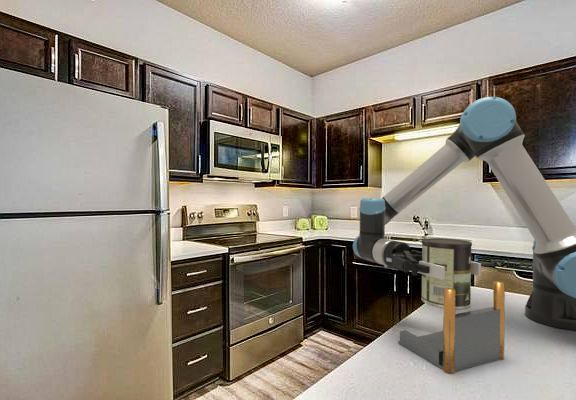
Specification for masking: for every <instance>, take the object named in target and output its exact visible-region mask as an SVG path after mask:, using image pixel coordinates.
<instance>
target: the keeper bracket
mask: <svg viewBox="0 0 576 400" xmlns="http://www.w3.org/2000/svg"><path fill="white" fill-rule="evenodd" d="M492 284H493V285H492V286H493V289H492V290H493V291H492V292H493V295H492V297H493V300H492V304H493V305H492V307H491V306H490V307H486V308H480V309H476V310H469V311H465V312H460V313H459V312H458V313H456V310H455V289H451V288H444V308H443V317H442V318H443V320H442V321H443V322H442V323H443V324H442V325H443V326H442V327H443V331H437V332H433V333H428V334H424V335H419V336H417V335H415V334H414V333H412V332H410V331H408V330H406V329H403V330H402V329H401V330H399V340H398V344H399V345H401V346H402V347H404V348H406V349H407V350H408V351H411V352H412V353H414V354H416V355H417V356H419V357H421V358H422V359H424V360H426V361H427V362H429V363H431V364H432V365H434V366H436V367H438V368H439V369H441V370H443V372H444V373H446V374H452V375H453V374H455V373H457V372H460V371H464V370H467V369H471V368H474V367H477V366H481V365H485V364H489V363H491V362H495V361H499V360H501V361H502V360H504V359H505V324H506V323H505V314H506V311H505V310H506V309H505V308H506V307H505V301H506V299H505V298H506V296H505V293H506V292H505V290H506V289H505V285H506V284H505V282H504V281H498V280H496V281H495V280H493V283H492Z"/></svg>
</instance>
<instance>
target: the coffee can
mask: <svg viewBox="0 0 576 400" xmlns="http://www.w3.org/2000/svg"><path fill="white" fill-rule="evenodd" d="M421 245H422V247H421V248H422V250H421V252H422V261H424V262H428V263H432V264H436V265H440V266H444V267H445V280H441V279H438V278H434V277H431V276H427V275H424V274H421V298H420V299H421V301H422V302H423V303H424V304H426V305H428V306H431V307H435V308H439V309H444V288H451V289H455V311H457V310H467V309H470V308H471V307H472V303H471V302H472V301H471V295H472V293H471V291H472V290H471V289H472V288H471V287H472V282H471V280H472V274H471V261H472V247H473V242H471V241H470V240H469V241H468V240H463V239H456V238H444V237H443V238H439V237H438V238H437V237H435V238H434V237H433V238H430V237H429V238H422V239H421Z"/></svg>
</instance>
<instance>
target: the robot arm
mask: <svg viewBox="0 0 576 400" xmlns="http://www.w3.org/2000/svg"><path fill="white" fill-rule="evenodd" d="M524 139H525V133H524V132H523V130H522V128H521V127H520V125H519V124H518V122H517V114H516V110H515V108H514V106H513V105H512V103H510V102H509V101H508V100H506V99H504V98H501V97H497V96H487V97H482V98H479V99H477V100H474V101H473V102H472V103H470V104H469V105H468V106H467V107H466V108H465V109H464V111H463V112H462V113H461V116H460V120H459V125H458V127H457V128H456V129H455V130H454V131H453V133H451V135H450V136H449V137H447V138H446V139H445V143H444V145H443V146H442V147H440V148H439V149H438V150H437V151H436V152H435V153H433V155H431V156H430V157H429V158H428V159H426V160H424V162H423V163H422V164H421V165H419V166H418V167H417V168H416V169H414V170H413V171H412V172H411V173H410V174H409V175H407V176H406V177H405V178H404V179H403V180H401V181H400V182H399V183H398V184H397V185H395V186H394V187H393V188H392V189H391V190H390V191H389V192H387V193H386V194H385V195H383V196H382V197H380V198H379V197H377V198H375V197H364V198H363V197H362V198H361V199H360V202H359V209H358V210H359V232H358V233H359V234H358V235H357V237H355V239H354V240H353V243H352V250H353V253H354V254H355V255H356V256H357V257H359V258H361V259H362V260H365V261H366V262H367V261H369V262H372V263H376V264H379V265H383V267H384V268H388V267H389V268H391V269H395V270H397V271H402V272H404V273H406V274H407V273H410V271H411V275H412V276H416V277H417V276H418V274H421V275H422V274H424V275H427V276H431V277H434V278H438V279H441V280H445V267H444V266H440V265H436V264H432V263H428V262H424V261H422V251H419V250H416V249H412V248H411V246H410V245H409V244H408V243H406V242H404V241H399V240H394V239H389V238H386V237H385V233H386V232H385V226H386V225H387V224H389V222H391V221H392V220H393V219H394V218H395V217H397V216H398V214H400V213H401V212H402V211H403V210H404V209H406V208H407V207H408V206H410V205H411V204H412V203H414V202H415V201H416V200H417V199H419V198H420V197H421V196H422V195H424V194H425V193H426V192H427V191H428V190H430V189H431V188H433V186H436V185H435V184H437V183H438V182H440V181H441V180H442V179H443V178H445V177H446V176H447V175H448V174H450V173H451V172H452V171H453V170H455V169H456V168H458V166H460V165H461V164H462V163H465V162H466V163H468V162H470V161H471V160H473V159H474V158H476V159H477V160H481V161H483V162H486V163H487V164H488V166H489V168H490V170H491V172H492V173H493V174H494V176H495V177H496V179H497V181H498V182H499V184H500V186H501V188H502V189H503V191H504V193H505V194H506V196H507V198H508V199H509V201H510V202H511V204H512V206H513V207H514V208H515V210H516V212H517V214H518V216H520V219H521V220H522V221H523V223H524V225H525V227H526V228H527V230H528V231H529V233H530V235H531V237H532V238H533V245H532V290H531V292H530V294H529V297H528V298H527V301H526V303H525V307H524V315H525V316H526V317H527V318H528V319H531V320H532V321H535V322H537V323H540V324H542V325H546V326H549V327H553V328H558V329H564V330H570V331H576V225H575V224H574V222H573V221H572V220H571V218H570V216H569V215H568V214H567V212H566V210H565V209H564V207H563V206H562V204H561V203H560V201H559V199H558V198H557V196H556V195H555V193H554V192H553V191H552V189H551V187H550V185H549V184H548V183H547V181H546V179H545V178H544V176H543V174H542V173H541V172H540V170H539V169H538V167H537V166H536V164H535V163H534V161H533V159H532V157H531V156H530V155H529V153H528V152H527V150H526V149H525V147H524V145H523V142H524ZM471 275H474V276H477V277H479V276H480V277H481V275H482V263H481V262H476V261H472V260H471Z"/></svg>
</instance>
